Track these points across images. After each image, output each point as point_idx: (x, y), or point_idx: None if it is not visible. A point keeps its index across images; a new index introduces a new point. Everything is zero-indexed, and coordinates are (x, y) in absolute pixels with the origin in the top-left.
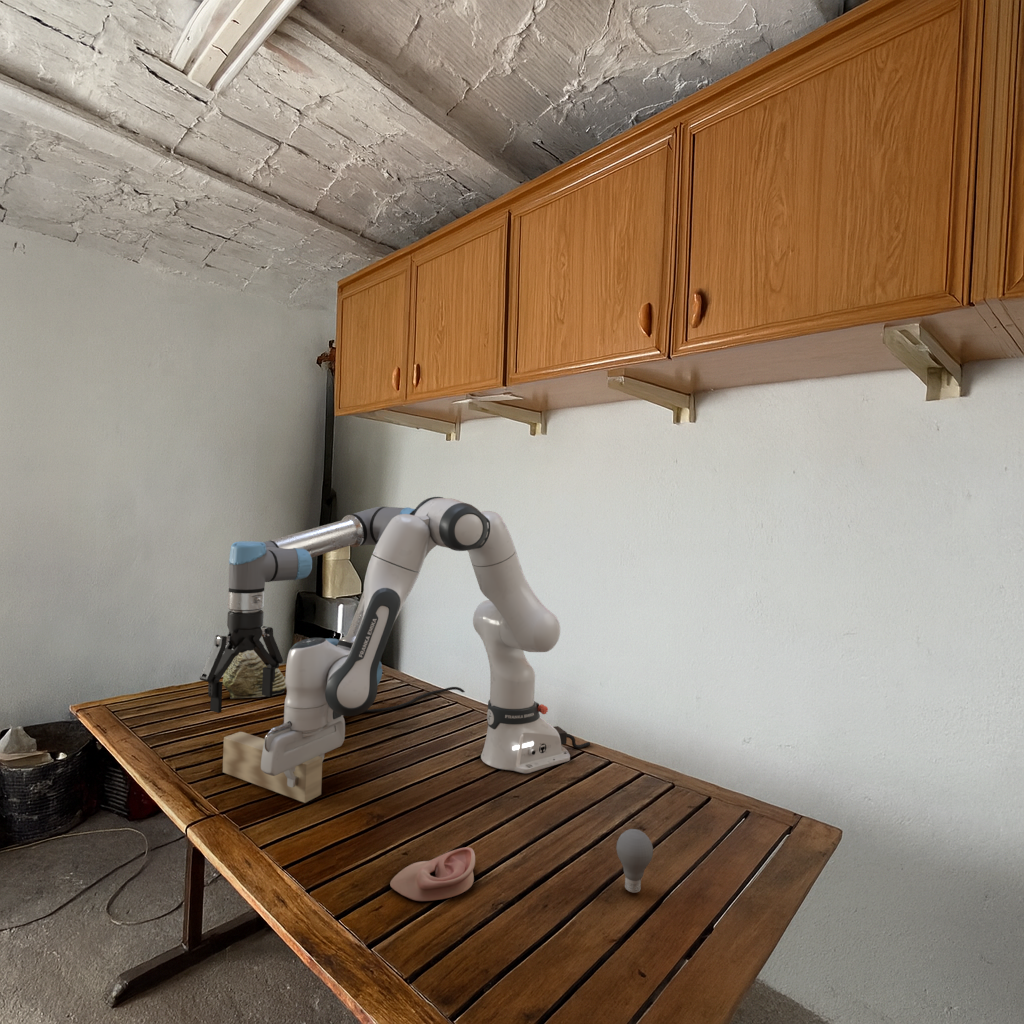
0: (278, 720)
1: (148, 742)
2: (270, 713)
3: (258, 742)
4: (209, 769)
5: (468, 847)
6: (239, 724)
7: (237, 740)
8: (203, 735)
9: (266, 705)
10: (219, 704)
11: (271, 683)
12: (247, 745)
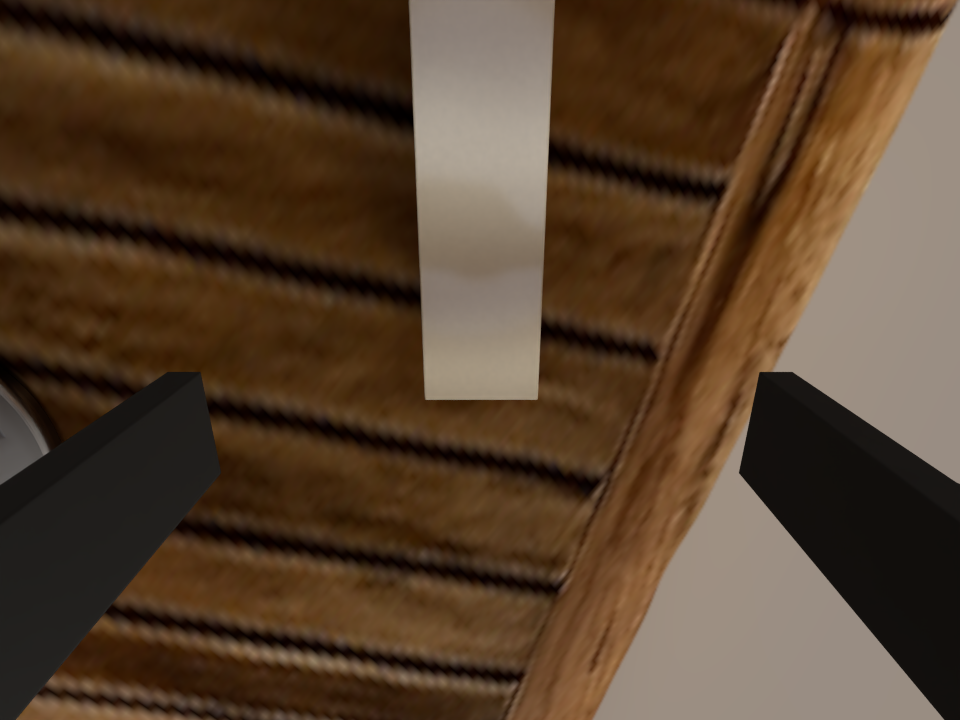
0: None
1: (498, 713)
2: None
3: (479, 167)
4: None
5: None
6: (199, 639)
7: (527, 302)
8: (349, 646)
9: None
10: (829, 407)
11: (89, 439)
12: (546, 189)
